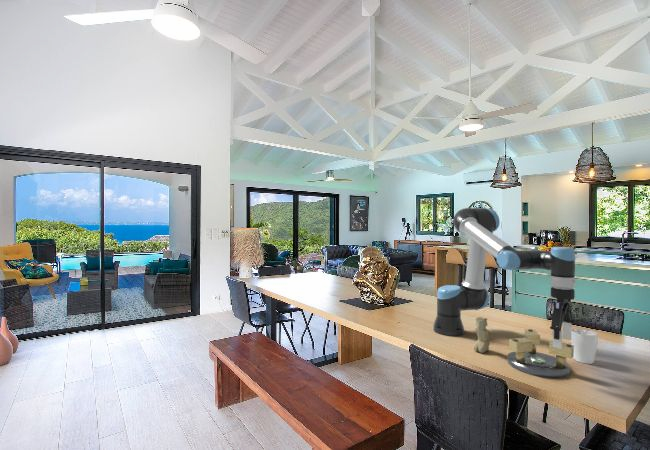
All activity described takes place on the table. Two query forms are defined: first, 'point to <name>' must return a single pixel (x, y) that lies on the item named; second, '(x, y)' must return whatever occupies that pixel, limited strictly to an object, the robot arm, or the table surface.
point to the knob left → (520, 348)
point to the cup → (584, 345)
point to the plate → (539, 365)
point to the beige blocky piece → (532, 339)
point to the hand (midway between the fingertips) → (562, 343)
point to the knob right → (561, 353)
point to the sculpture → (482, 335)
